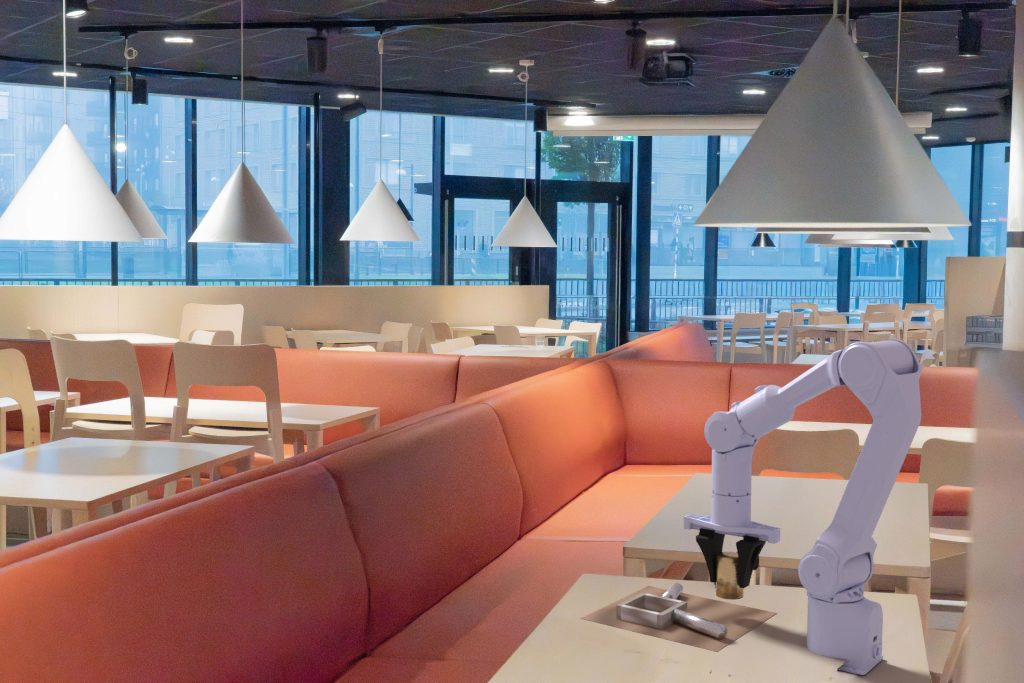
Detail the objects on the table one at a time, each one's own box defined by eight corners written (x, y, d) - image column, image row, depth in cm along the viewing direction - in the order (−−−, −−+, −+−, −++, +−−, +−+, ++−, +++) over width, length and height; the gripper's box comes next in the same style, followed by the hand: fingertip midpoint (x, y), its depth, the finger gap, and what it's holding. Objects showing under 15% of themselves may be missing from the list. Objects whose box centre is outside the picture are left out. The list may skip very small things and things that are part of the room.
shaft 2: (727, 637, 149) (727, 623, 149) (717, 641, 148) (717, 626, 148) (679, 620, 156) (679, 607, 156) (669, 623, 155) (670, 610, 155)
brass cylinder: (748, 594, 158) (748, 554, 158) (736, 601, 155) (737, 560, 154) (723, 589, 160) (723, 550, 160) (711, 596, 157) (711, 556, 157)
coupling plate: (777, 622, 160) (777, 599, 160) (716, 662, 144) (717, 637, 144) (648, 594, 173) (648, 573, 173) (580, 628, 157) (580, 604, 157)
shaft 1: (670, 594, 169) (670, 581, 168) (683, 595, 168) (683, 583, 168) (657, 609, 161) (658, 596, 161) (670, 611, 160) (671, 598, 160)
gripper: (789, 494, 155) (787, 585, 156) (699, 481, 164) (698, 568, 165) (769, 502, 150) (767, 597, 151) (677, 489, 159) (676, 579, 160)
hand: (729, 583), depth 158 cm, fingers closed on brass cylinder, 4 cm apart
